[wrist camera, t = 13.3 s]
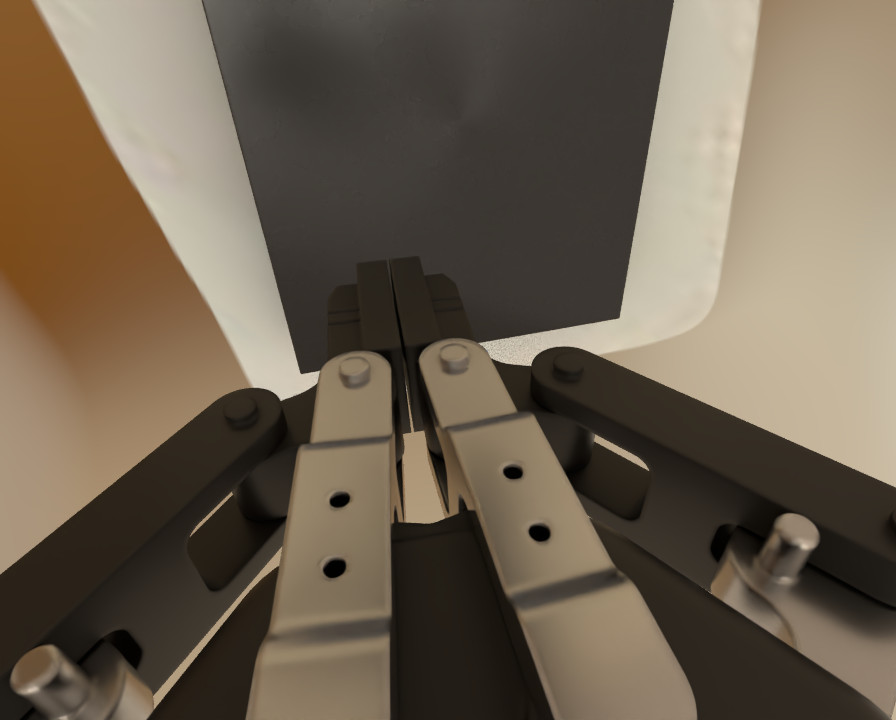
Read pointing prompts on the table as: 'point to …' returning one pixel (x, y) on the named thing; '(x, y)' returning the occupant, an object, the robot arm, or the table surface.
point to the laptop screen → (446, 148)
